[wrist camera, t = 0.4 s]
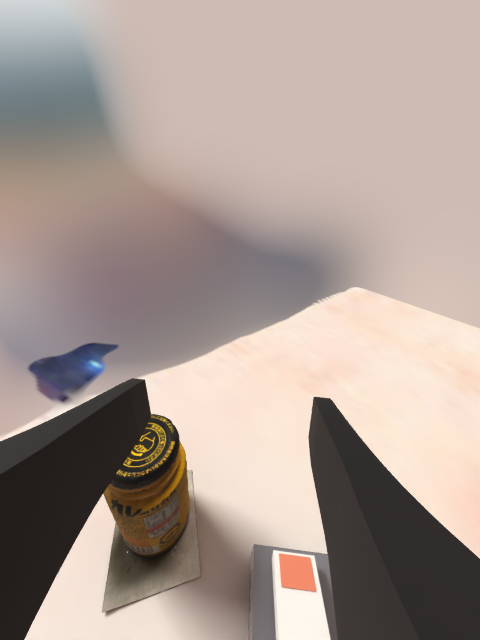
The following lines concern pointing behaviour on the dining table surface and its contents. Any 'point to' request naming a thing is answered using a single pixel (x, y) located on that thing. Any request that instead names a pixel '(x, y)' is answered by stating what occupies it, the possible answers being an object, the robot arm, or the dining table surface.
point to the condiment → (152, 519)
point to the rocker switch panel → (263, 595)
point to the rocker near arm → (298, 598)
